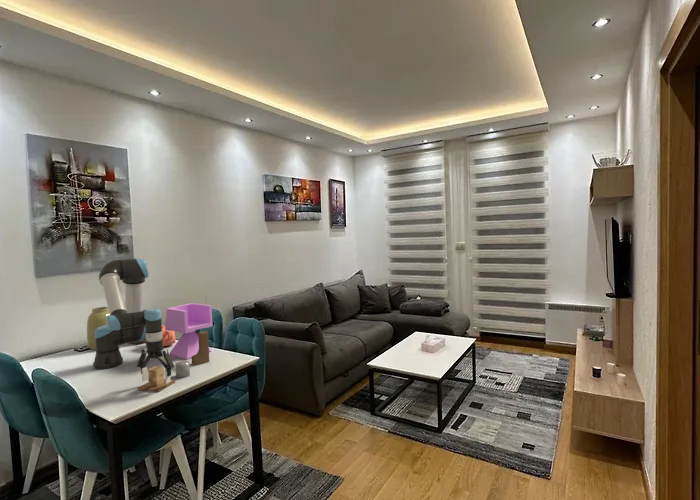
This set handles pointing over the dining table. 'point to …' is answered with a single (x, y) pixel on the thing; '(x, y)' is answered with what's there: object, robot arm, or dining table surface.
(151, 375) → the oak block
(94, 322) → the vase
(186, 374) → the grey dome cap
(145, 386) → the walnut board
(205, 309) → the chair
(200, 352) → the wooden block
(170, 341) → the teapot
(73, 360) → the dining table surface
